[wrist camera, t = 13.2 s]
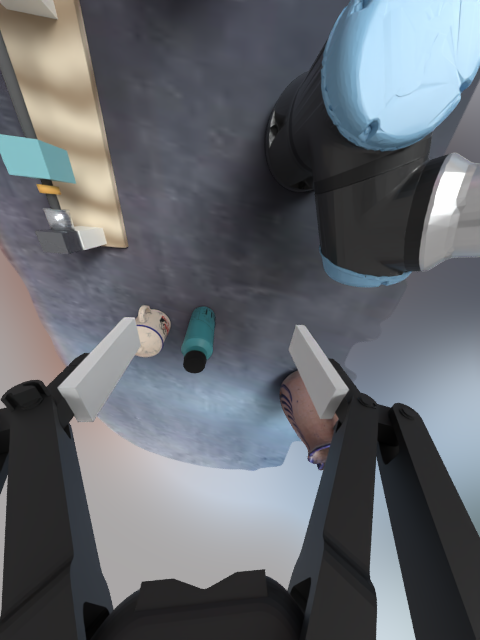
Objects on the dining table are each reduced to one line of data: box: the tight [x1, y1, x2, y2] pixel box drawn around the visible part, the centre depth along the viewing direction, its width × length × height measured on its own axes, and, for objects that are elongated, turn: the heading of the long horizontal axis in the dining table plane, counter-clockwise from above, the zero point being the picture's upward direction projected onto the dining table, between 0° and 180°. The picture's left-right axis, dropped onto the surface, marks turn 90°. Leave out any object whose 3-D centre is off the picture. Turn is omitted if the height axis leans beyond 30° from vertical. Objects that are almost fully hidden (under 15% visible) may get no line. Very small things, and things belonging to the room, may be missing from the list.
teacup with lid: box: [135, 305, 171, 357], centre depth 45 cm, size 12×9×12 cm
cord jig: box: [0, 0, 128, 254], centre depth 26 cm, size 32×11×12 cm, turn 175°
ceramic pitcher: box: [280, 370, 338, 470], centre depth 55 cm, size 18×21×25 cm
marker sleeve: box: [0, 134, 76, 184], centre depth 26 cm, size 4×5×5 cm
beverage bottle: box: [181, 307, 216, 373], centre depth 41 cm, size 6×7×20 cm
